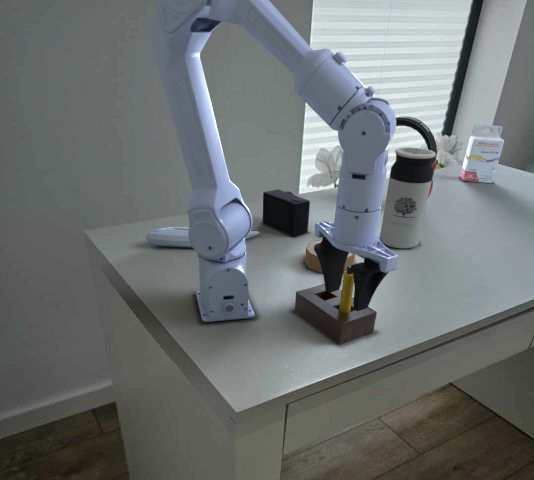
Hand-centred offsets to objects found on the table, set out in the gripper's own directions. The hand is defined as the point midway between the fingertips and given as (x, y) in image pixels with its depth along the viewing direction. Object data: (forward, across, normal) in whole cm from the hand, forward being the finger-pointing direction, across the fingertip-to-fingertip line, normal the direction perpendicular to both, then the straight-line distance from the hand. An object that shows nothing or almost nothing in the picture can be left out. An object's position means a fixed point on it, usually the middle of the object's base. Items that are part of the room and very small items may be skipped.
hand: (346, 299), depth 71 cm
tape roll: (+5, +19, -13) cm, 24 cm away
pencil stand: (+5, +2, 0) cm, 5 cm away
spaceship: (+5, +41, +2) cm, 41 cm away
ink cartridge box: (+5, +45, -89) cm, 100 cm away
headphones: (+5, +41, -51) cm, 65 cm away
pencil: (+5, 0, 0) cm, 5 cm away
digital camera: (+5, +39, -17) cm, 43 cm away
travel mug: (+5, +21, -33) cm, 39 cm away
